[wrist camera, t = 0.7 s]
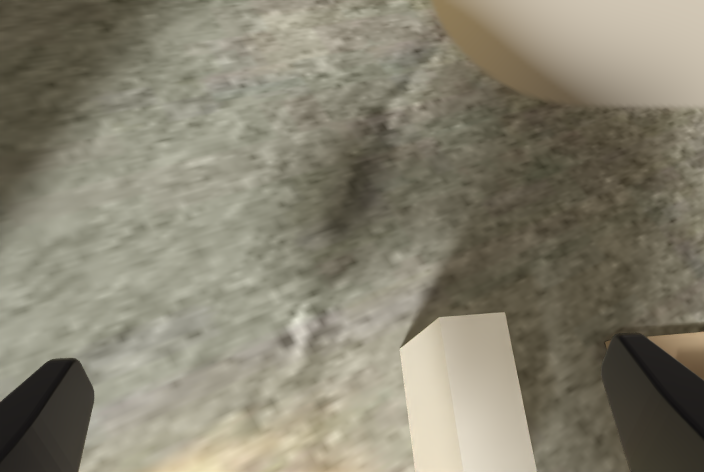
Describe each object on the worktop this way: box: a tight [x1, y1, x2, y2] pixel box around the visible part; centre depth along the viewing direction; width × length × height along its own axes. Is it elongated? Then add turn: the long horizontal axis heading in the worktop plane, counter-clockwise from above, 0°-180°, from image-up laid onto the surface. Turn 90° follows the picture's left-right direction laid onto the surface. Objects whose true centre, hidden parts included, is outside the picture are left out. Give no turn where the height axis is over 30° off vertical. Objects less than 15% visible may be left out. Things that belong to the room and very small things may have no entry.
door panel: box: [400, 312, 537, 472], centre depth 21 cm, size 9×3×7 cm, turn 6°
